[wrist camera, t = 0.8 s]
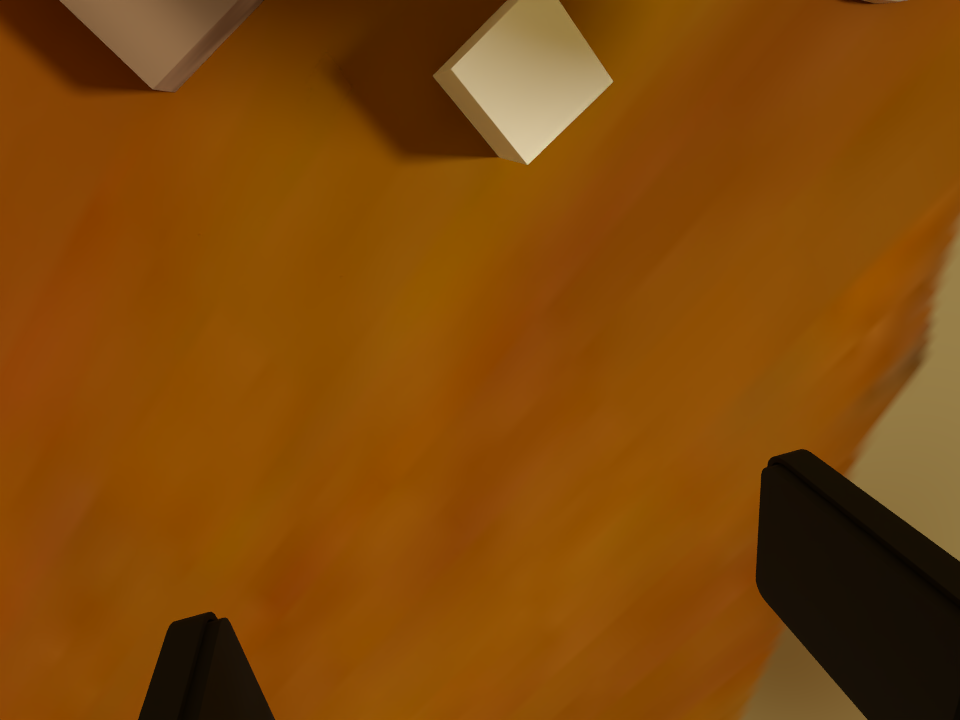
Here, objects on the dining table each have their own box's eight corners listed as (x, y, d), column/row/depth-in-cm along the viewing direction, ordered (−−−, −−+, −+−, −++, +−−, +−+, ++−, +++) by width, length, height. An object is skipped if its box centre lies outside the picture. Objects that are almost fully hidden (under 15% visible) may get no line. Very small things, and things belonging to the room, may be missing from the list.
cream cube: (508, -2, 28) (542, -24, 23) (571, 86, 30) (613, 81, 26) (432, 76, 28) (450, 68, 24) (498, 157, 31) (527, 164, 26)
